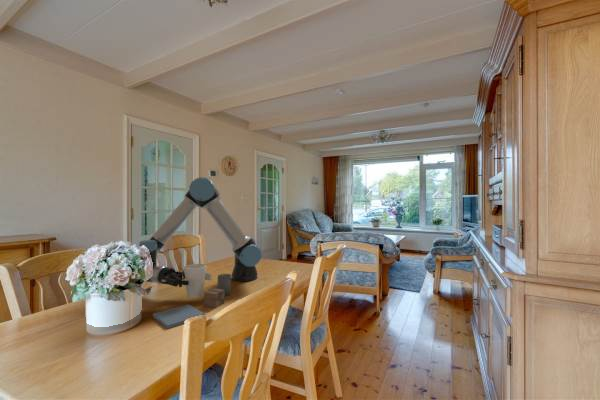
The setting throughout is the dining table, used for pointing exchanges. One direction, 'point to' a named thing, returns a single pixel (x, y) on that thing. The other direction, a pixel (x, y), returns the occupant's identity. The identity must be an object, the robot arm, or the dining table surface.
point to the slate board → (176, 315)
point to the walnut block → (214, 297)
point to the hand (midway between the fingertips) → (203, 280)
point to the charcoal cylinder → (224, 283)
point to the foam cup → (197, 274)
